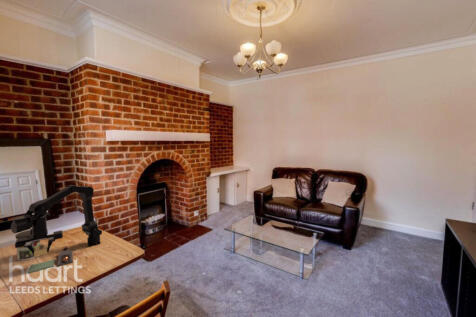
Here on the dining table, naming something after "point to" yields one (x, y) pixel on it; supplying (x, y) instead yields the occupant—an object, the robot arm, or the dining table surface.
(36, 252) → the tan rectangular block
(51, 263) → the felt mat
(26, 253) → the coffee can
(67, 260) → the body
